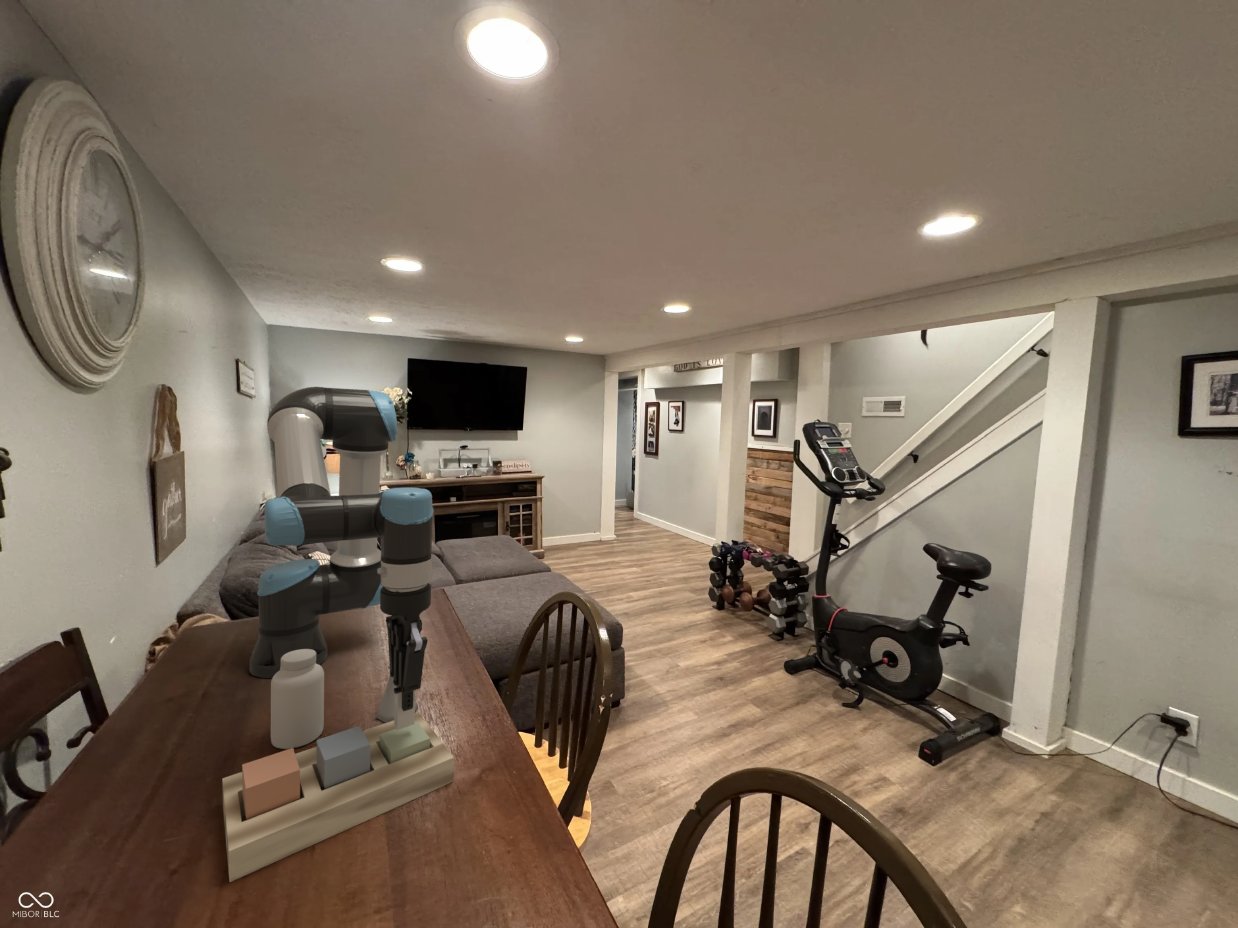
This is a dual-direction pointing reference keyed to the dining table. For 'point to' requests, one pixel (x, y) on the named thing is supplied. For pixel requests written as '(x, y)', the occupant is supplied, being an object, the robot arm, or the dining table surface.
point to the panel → (329, 802)
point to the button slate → (343, 756)
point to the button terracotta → (270, 782)
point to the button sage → (403, 742)
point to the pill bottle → (297, 700)
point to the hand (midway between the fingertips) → (404, 724)
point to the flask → (388, 703)
